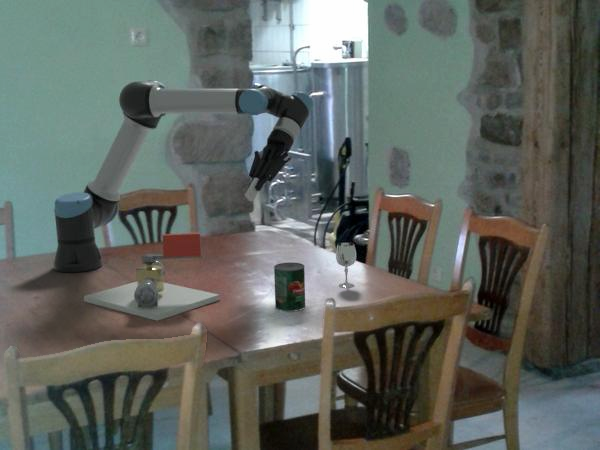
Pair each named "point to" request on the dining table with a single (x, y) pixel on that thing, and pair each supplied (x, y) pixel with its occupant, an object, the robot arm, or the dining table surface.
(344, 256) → the wineglass
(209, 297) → the plate
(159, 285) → the valve body
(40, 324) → the dining table surface
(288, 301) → the canned tomato
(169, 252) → the valve lever
